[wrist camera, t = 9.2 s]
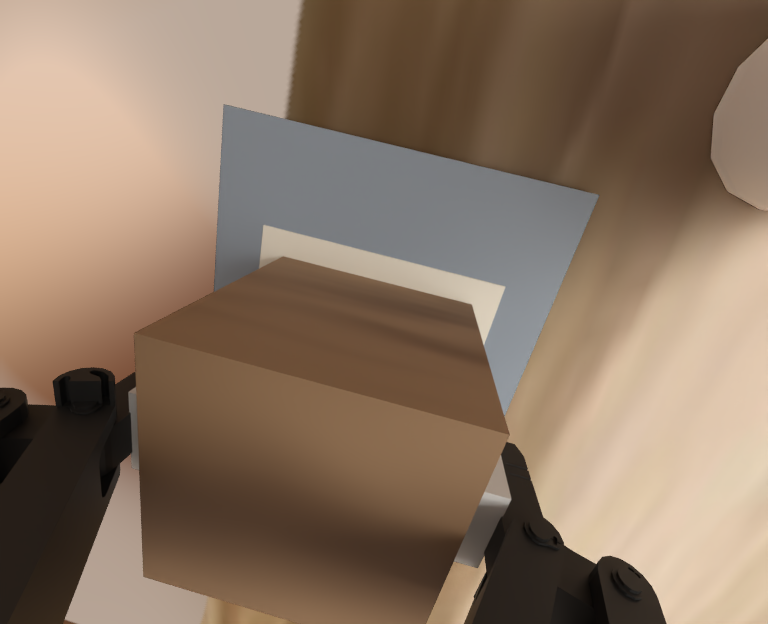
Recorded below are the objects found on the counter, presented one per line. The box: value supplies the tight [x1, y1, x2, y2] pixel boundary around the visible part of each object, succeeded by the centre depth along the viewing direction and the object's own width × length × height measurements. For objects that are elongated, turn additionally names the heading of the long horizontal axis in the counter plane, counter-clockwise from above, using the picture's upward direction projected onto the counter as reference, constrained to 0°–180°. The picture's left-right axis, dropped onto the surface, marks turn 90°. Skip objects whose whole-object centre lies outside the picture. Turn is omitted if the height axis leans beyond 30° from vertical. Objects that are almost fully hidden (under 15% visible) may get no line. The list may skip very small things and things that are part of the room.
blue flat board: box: [214, 105, 599, 416], centre depth 17 cm, size 18×14×1 cm
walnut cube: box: [134, 256, 510, 624], centre depth 13 cm, size 8×8×8 cm
